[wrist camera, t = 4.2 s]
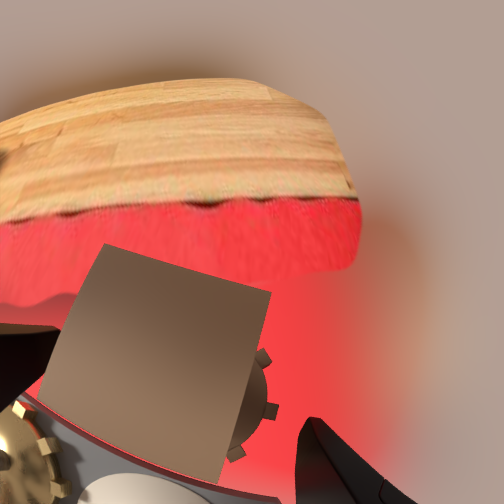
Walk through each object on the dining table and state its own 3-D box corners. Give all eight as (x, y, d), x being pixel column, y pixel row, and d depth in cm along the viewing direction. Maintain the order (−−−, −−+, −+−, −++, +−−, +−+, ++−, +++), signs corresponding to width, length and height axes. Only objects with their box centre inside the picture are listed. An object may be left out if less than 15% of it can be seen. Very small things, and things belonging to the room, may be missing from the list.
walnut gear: (253, 478, 13) (303, 580, 3) (111, 430, 14) (-36, 423, 3) (289, 344, 18) (375, 234, 8) (156, 305, 19) (86, 166, 8)
